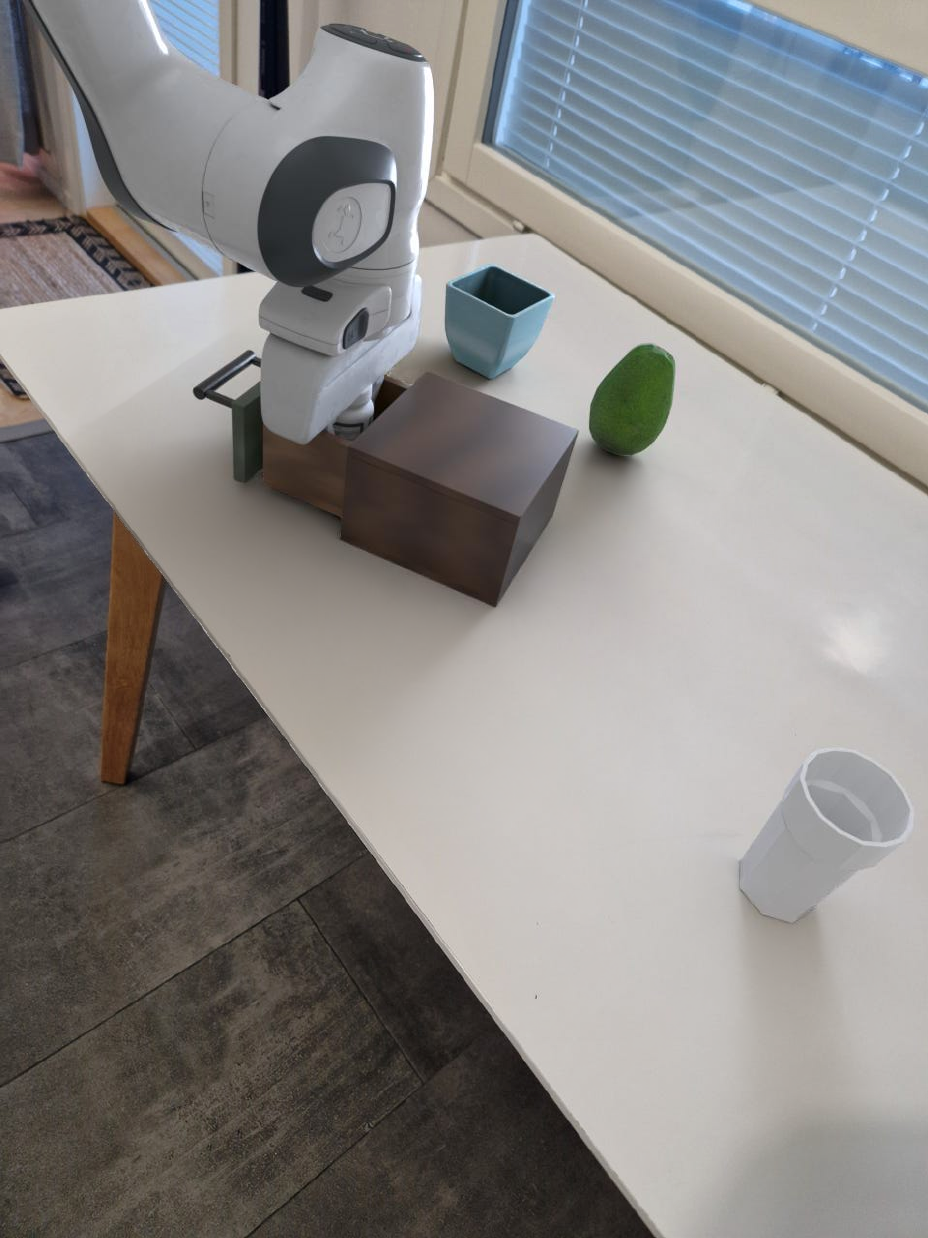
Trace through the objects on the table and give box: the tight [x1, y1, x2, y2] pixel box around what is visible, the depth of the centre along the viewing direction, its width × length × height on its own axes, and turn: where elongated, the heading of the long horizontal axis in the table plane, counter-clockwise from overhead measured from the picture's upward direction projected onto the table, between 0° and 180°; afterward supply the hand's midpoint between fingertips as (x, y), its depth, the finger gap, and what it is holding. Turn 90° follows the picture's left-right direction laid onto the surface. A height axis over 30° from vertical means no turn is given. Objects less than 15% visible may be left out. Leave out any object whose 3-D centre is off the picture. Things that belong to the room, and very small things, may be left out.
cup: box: [739, 746, 916, 924], centre depth 53 cm, size 7×7×11 cm
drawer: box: [192, 349, 412, 518], centre depth 76 cm, size 19×13×8 cm
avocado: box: [588, 342, 676, 457], centre depth 86 cm, size 8×8×12 cm
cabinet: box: [339, 370, 580, 608], centre depth 74 cm, size 15×14×10 cm
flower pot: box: [444, 263, 556, 380], centre depth 95 cm, size 9×9×9 cm
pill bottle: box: [332, 384, 374, 442], centre depth 75 cm, size 5×5×8 cm
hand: (343, 433), depth 75 cm, fingers closed on pill bottle, 5 cm apart
